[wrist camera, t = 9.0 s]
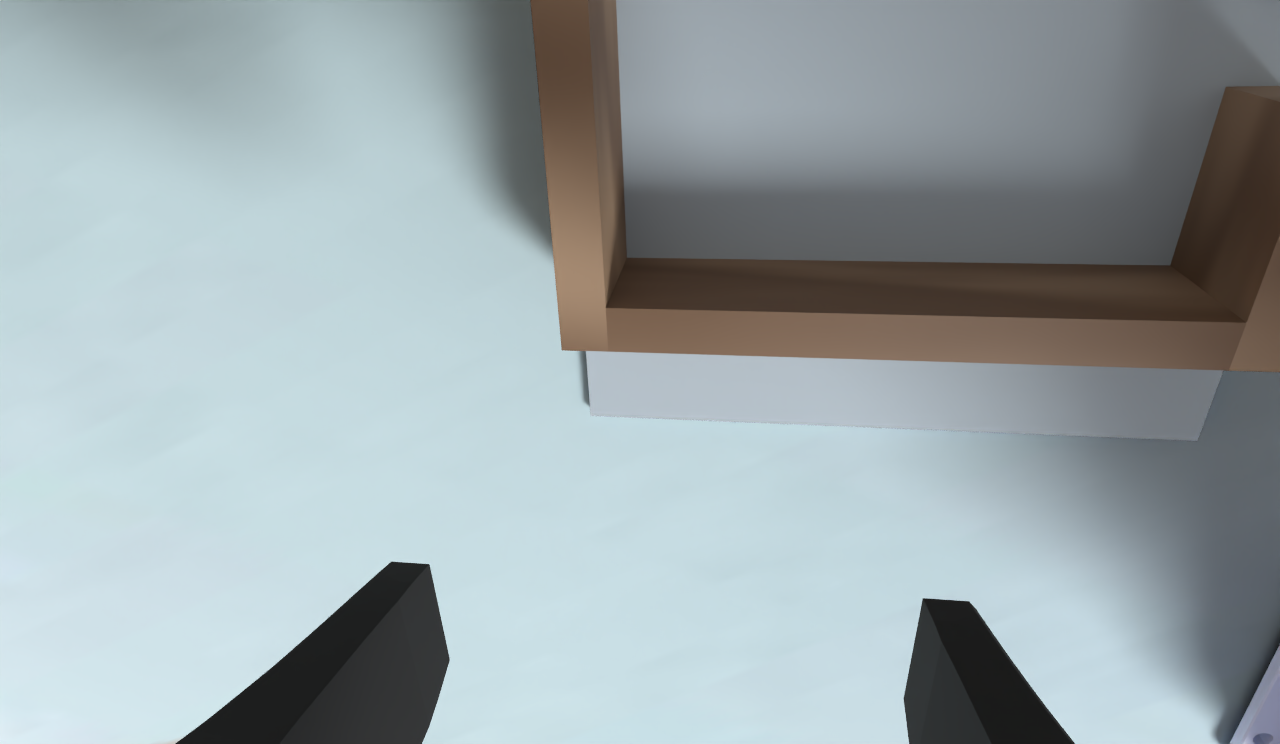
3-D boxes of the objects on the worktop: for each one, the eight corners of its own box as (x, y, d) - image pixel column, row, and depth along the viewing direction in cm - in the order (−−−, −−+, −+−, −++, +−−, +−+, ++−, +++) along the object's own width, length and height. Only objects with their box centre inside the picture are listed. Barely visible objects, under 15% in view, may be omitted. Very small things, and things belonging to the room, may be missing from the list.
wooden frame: (1205, 308, 17) (1286, 372, 15) (588, 295, 19) (561, 350, 16) (1429, -344, 12) (1618, -427, 9) (549, -275, 14) (501, -329, 11)
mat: (1191, 434, 19) (1197, 441, 19) (592, 409, 21) (590, 415, 21) (1599, -684, 10) (1620, -701, 10) (524, -548, 12) (519, -559, 12)
